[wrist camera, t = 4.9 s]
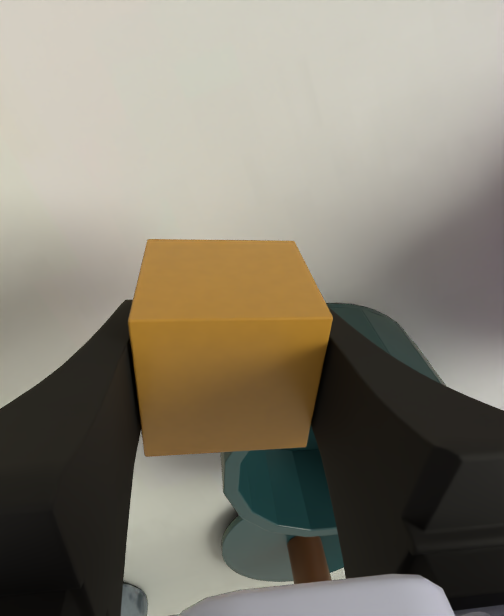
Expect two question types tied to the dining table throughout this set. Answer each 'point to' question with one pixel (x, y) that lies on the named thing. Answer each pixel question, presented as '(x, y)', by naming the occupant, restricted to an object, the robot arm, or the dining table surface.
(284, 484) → the pot
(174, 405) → the block
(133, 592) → the moka pot
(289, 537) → the lid
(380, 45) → the dining table surface
